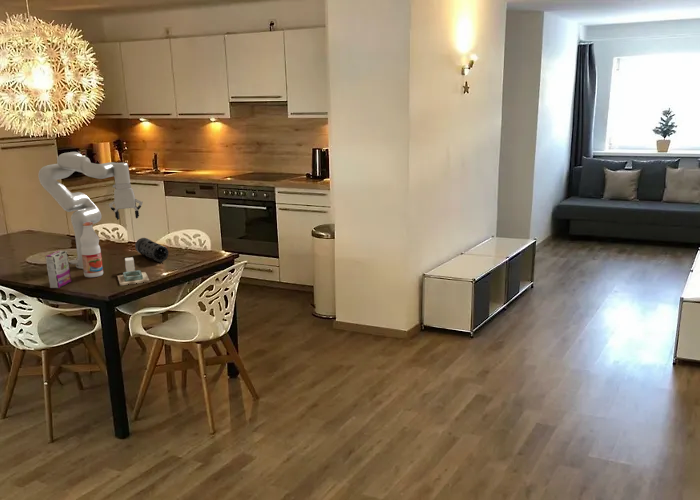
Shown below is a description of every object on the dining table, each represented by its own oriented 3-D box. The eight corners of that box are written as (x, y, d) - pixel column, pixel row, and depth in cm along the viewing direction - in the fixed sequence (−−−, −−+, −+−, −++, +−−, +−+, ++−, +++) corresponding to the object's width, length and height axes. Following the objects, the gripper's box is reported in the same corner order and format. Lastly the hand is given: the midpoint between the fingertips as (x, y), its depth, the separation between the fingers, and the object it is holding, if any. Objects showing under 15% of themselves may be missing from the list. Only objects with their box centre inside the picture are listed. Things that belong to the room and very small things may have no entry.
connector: (127, 274, 335) (125, 260, 333) (126, 271, 340) (124, 258, 338) (135, 273, 336) (133, 259, 335) (134, 270, 342) (132, 257, 340)
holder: (120, 285, 316) (119, 279, 315) (117, 277, 330) (116, 271, 330) (149, 281, 321) (148, 276, 321) (145, 273, 336) (145, 268, 335)
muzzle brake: (153, 265, 352) (151, 247, 350) (134, 255, 374) (133, 238, 371) (170, 262, 358) (168, 244, 356) (150, 252, 379) (149, 235, 377)
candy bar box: (62, 281, 325) (58, 250, 321) (71, 281, 324) (67, 250, 320) (49, 288, 314) (44, 256, 310) (58, 288, 313) (54, 256, 309)
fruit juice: (93, 272, 341) (87, 220, 334) (107, 273, 338) (101, 221, 331) (80, 276, 332) (73, 224, 325) (94, 278, 329) (88, 225, 322)
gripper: (104, 188, 330) (109, 221, 334) (139, 186, 332) (143, 218, 336) (107, 186, 337) (112, 218, 341) (141, 184, 339) (145, 216, 343)
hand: (127, 218), depth 339 cm, fingers open, 9 cm apart
